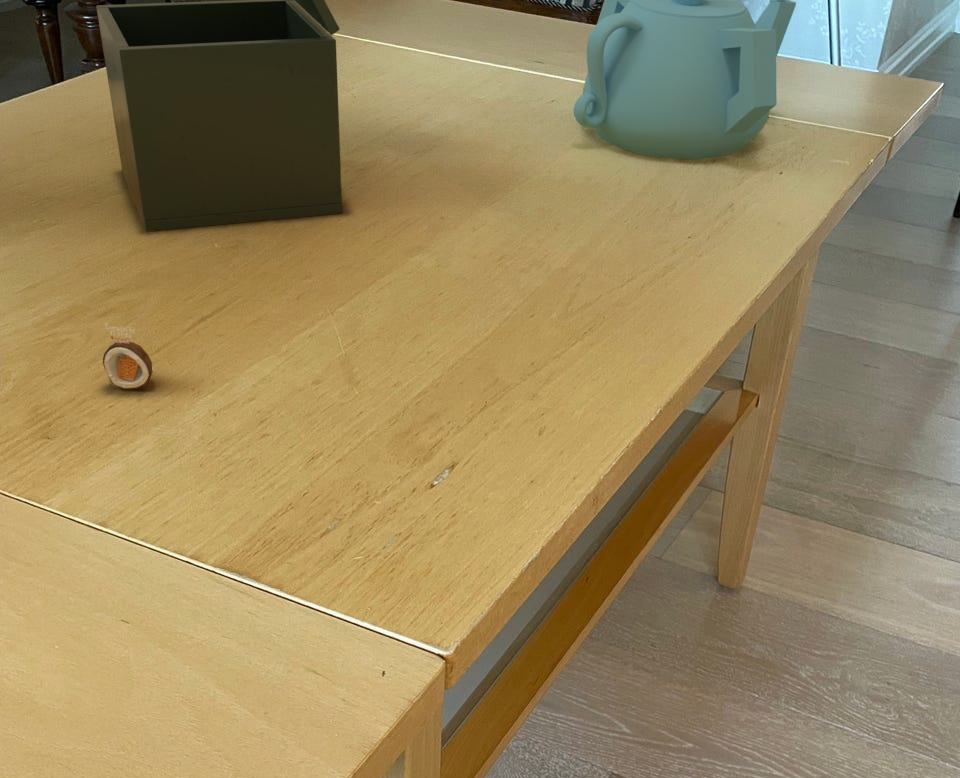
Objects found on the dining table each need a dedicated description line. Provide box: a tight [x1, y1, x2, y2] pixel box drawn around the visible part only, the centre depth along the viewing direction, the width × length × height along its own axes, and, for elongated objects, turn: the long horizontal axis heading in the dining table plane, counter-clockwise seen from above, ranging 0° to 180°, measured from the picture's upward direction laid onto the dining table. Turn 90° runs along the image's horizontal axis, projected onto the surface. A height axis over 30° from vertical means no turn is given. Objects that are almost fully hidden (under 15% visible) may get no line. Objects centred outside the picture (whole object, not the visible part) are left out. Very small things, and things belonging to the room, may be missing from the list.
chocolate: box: [102, 322, 155, 390], centre depth 69 cm, size 3×2×4 cm
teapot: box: [573, 0, 797, 160], centre depth 108 cm, size 19×19×14 cm
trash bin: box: [96, 0, 343, 232], centre depth 92 cm, size 16×14×13 cm
